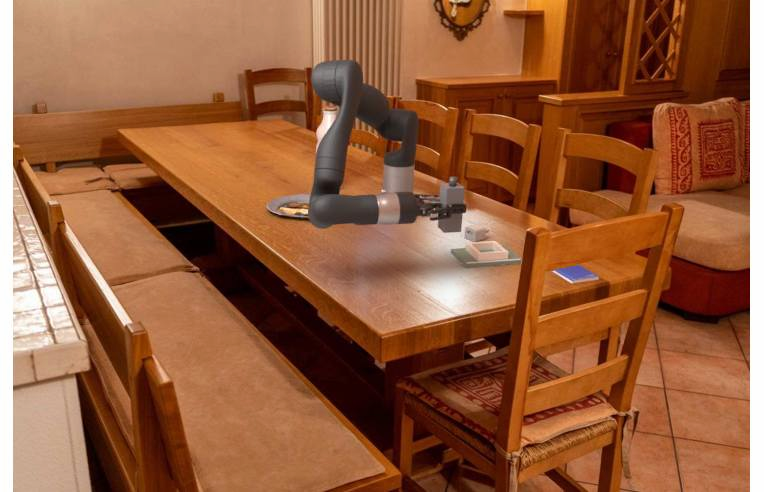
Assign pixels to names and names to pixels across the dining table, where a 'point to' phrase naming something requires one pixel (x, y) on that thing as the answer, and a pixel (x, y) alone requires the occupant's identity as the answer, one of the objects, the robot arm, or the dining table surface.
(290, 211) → the food plate
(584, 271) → the blue book
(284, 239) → the dining table surface
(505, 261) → the board
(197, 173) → the dining table surface
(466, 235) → the usb wall charger
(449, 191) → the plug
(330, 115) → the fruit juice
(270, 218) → the dining table surface
